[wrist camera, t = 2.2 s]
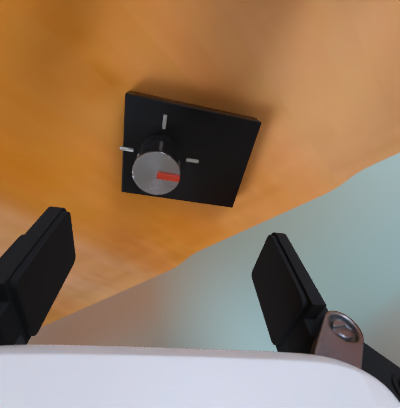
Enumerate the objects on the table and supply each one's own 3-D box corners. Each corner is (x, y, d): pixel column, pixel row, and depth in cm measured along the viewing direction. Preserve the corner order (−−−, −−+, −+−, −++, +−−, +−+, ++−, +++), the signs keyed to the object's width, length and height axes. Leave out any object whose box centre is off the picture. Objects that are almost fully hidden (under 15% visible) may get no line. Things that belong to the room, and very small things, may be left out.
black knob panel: (122, 183, 30) (118, 192, 28) (126, 89, 24) (121, 92, 22) (229, 199, 32) (232, 208, 30) (256, 117, 26) (262, 122, 24)
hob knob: (138, 169, 26) (130, 193, 22) (141, 131, 24) (132, 148, 20) (176, 175, 27) (176, 199, 23) (183, 139, 25) (184, 157, 21)
